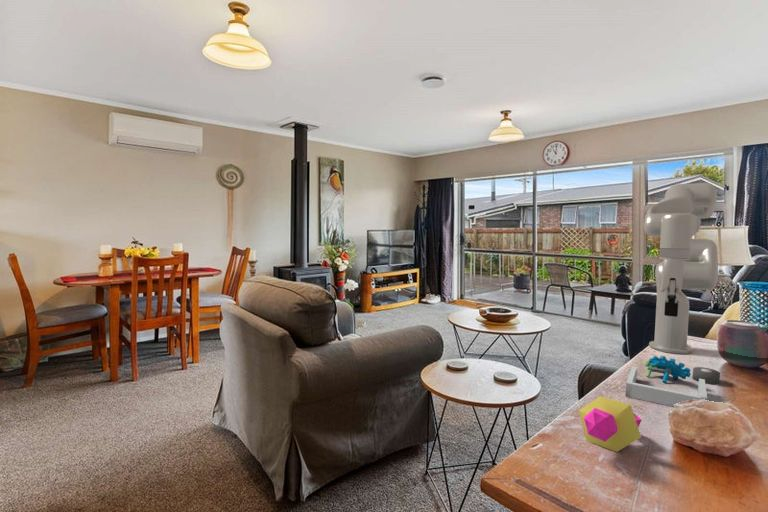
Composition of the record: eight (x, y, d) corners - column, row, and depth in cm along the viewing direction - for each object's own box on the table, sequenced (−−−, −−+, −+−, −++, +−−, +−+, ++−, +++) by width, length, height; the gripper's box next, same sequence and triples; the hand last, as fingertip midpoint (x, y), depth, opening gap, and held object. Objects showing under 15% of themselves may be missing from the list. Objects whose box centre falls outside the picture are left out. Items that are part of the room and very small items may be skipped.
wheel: (692, 374, 119) (693, 365, 119) (718, 379, 116) (719, 369, 115) (692, 381, 114) (693, 370, 114) (720, 386, 111) (720, 375, 111)
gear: (697, 377, 113) (682, 356, 109) (692, 396, 110) (676, 374, 107) (655, 370, 122) (640, 351, 119) (649, 387, 120) (633, 367, 117)
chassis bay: (631, 378, 116) (632, 366, 116) (703, 392, 107) (704, 379, 106) (625, 396, 104) (626, 383, 104) (706, 413, 94) (707, 399, 94)
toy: (656, 446, 82) (638, 392, 86) (634, 454, 70) (614, 392, 74) (604, 449, 88) (590, 399, 92) (575, 457, 76) (560, 399, 80)
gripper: (660, 252, 130) (657, 308, 131) (658, 255, 116) (654, 317, 118) (689, 253, 125) (686, 311, 127) (690, 256, 112) (686, 321, 113)
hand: (671, 313), depth 122 cm, fingers open, 4 cm apart
